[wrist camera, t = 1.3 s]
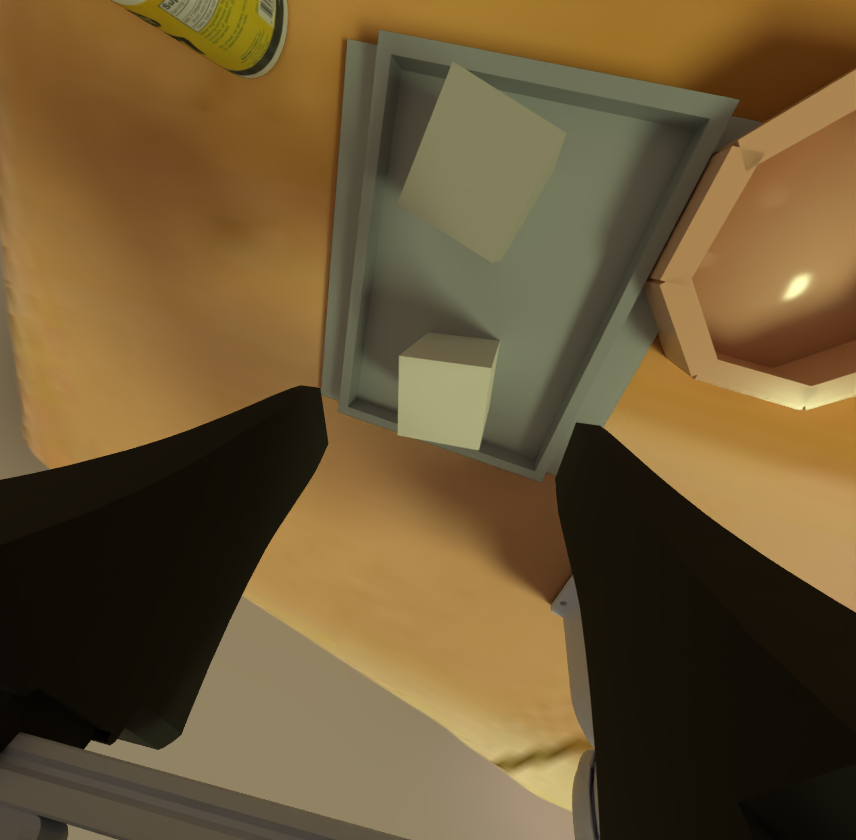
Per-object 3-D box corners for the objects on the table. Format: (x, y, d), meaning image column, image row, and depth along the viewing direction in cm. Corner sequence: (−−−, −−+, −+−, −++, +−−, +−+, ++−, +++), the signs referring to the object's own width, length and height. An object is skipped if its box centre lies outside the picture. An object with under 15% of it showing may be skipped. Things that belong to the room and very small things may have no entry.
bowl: (827, 405, 16) (887, 435, 13) (604, 341, 17) (618, 356, 15) (1095, 120, 11) (1278, 78, 8) (747, 57, 12) (808, 3, 9)
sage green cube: (489, 407, 20) (478, 450, 16) (424, 397, 21) (397, 435, 16) (500, 340, 18) (491, 368, 14) (428, 332, 19) (399, 355, 14)
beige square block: (501, 260, 16) (491, 262, 12) (431, 216, 16) (397, 203, 12) (554, 169, 14) (566, 133, 10) (475, 119, 14) (452, 61, 10)
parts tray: (571, 476, 21) (574, 494, 19) (324, 392, 23) (309, 402, 21) (769, 129, 13) (803, 112, 11) (352, 45, 15) (332, 20, 13)
